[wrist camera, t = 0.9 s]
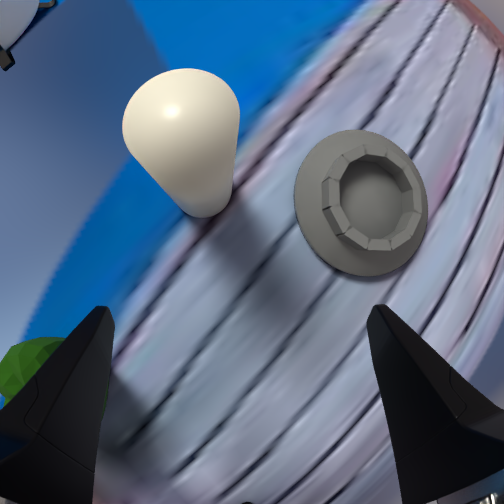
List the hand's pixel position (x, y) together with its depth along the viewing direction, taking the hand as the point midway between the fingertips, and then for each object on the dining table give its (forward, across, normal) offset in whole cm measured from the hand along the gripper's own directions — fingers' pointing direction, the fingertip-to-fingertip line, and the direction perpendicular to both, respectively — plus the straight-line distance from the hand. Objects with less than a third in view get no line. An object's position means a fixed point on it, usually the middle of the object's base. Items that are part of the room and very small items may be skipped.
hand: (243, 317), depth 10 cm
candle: (+15, +2, +3) cm, 15 cm away
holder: (+15, -11, +4) cm, 18 cm away
